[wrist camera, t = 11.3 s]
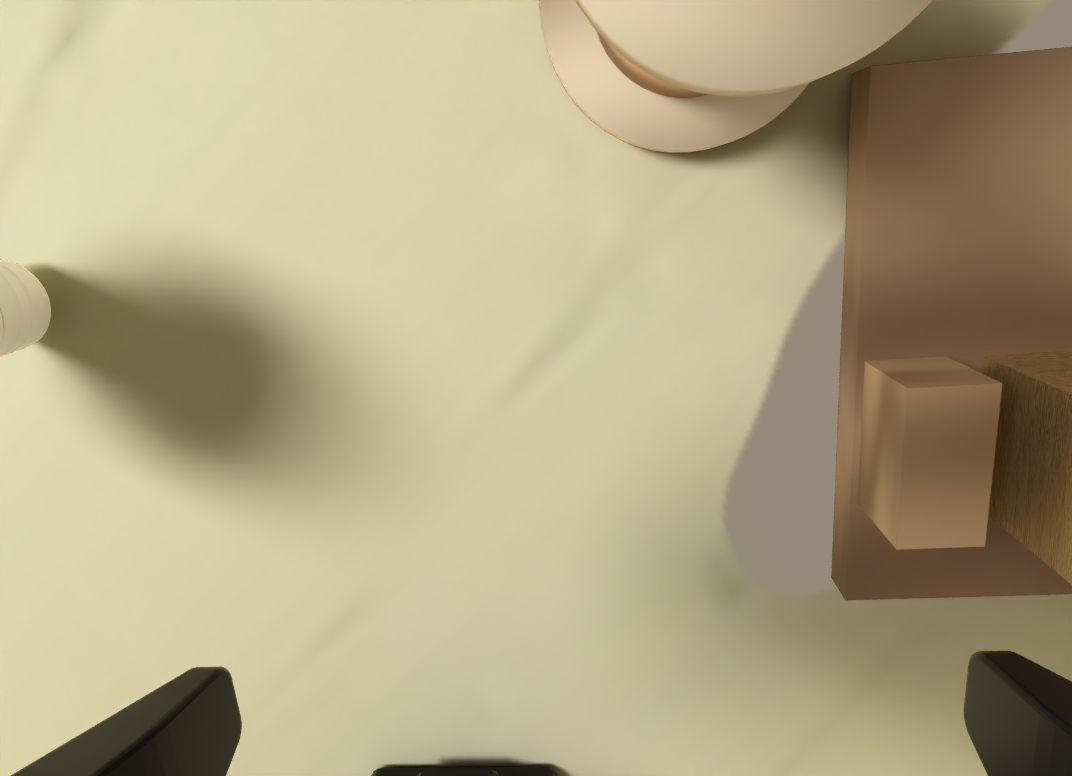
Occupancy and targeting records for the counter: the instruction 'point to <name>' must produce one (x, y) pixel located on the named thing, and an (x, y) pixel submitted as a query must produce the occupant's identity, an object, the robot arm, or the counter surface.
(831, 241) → the counter surface
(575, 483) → the counter surface
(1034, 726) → the robot arm
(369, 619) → the counter surface
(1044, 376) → the tan block
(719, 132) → the bobbin
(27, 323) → the lightbulb
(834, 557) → the notch board
